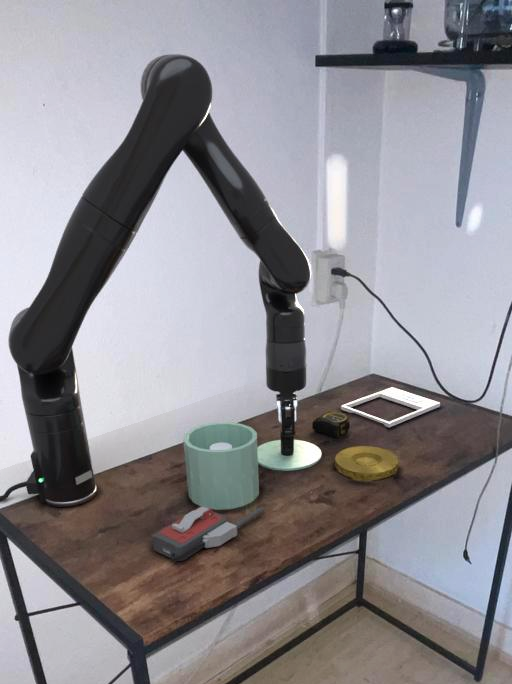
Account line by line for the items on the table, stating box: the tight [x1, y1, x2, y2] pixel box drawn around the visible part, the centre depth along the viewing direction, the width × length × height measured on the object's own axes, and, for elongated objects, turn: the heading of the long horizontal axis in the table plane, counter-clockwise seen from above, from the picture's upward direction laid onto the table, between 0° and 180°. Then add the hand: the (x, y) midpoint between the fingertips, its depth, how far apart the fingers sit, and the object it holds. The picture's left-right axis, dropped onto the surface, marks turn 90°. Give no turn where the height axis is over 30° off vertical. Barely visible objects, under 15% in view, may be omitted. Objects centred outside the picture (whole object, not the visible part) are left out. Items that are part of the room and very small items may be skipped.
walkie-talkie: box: [152, 506, 265, 562], centre depth 111 cm, size 9×4×20 cm
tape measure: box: [312, 411, 351, 439], centre depth 147 cm, size 7×7×4 cm
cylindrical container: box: [182, 421, 260, 511], centre depth 121 cm, size 13×13×12 cm
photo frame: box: [340, 386, 441, 428], centre depth 159 cm, size 15×1×18 cm
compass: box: [334, 445, 399, 482], centre depth 132 cm, size 12×12×2 cm
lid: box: [257, 428, 322, 472], centre depth 136 cm, size 14×14×6 cm
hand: (287, 443), depth 136 cm, fingers open, 7 cm apart
